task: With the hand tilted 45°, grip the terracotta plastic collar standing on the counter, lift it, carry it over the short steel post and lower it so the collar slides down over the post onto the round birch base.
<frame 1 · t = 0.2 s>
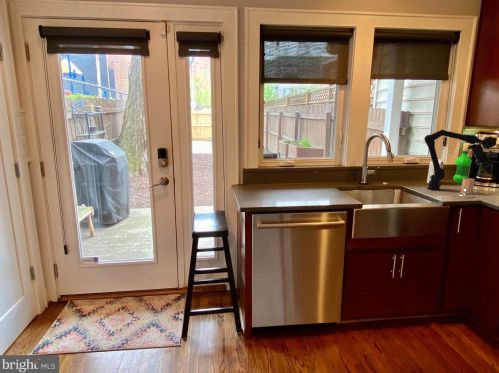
hand: (489, 173, 218), 15 cm above the worktop, tool tilted 30°, fingers open, 9 cm apart
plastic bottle: (459, 183, 257), on the worktop
terracotta collar: (466, 193, 224), on the worktop
milk carton: (433, 183, 253), on the worktop
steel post: (465, 195, 217), on the worktop
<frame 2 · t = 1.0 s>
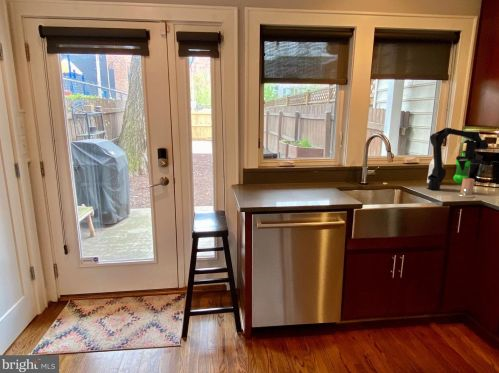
hand: (466, 171, 231), 13 cm above the worktop, tool pointing down, fingers open, 9 cm apart
nothing on the worktop moved.
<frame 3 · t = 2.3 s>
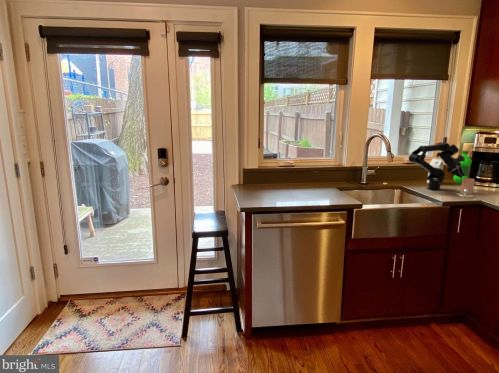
hand: (463, 176, 224), 11 cm above the worktop, tool tilted 45°, fingers open, 9 cm apart
nothing on the worktop moved.
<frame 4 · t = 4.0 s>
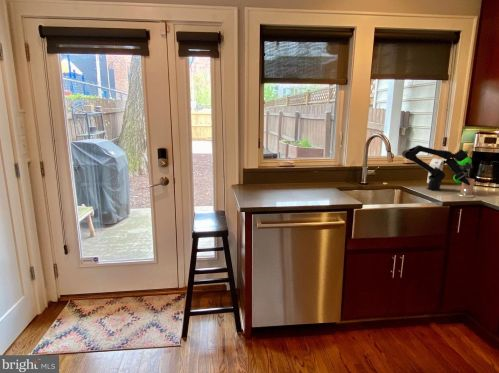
hand: (470, 184, 222), 7 cm above the worktop, tool tilted 45°, fingers closed on terracotta collar, 6 cm apart
terracotta collar: (466, 193, 224), on the worktop, touching gripper
everything else where it was.
when the fingers open (9 cm above the worktop, at t = 8.9 s): terracotta collar drops 2 cm, resting on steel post.
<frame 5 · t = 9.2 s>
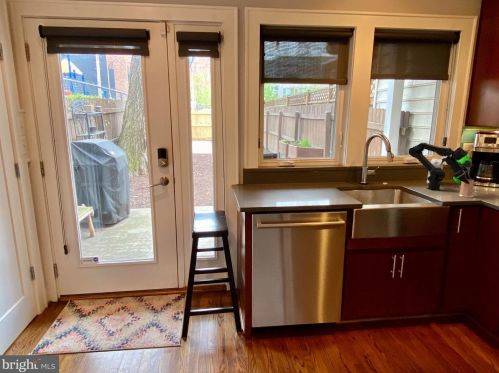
hand: (470, 182, 214), 9 cm above the worktop, tool tilted 45°, fingers open, 9 cm apart
terracotta collar: (465, 194, 217), point 1 cm above the worktop, touching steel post
everything else where it was.
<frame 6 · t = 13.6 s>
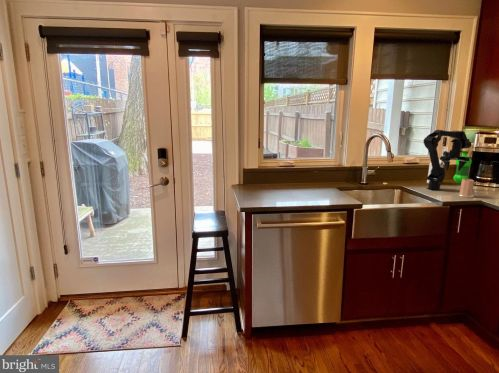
hand: (452, 170, 235), 13 cm above the worktop, tool pointing down, fingers open, 9 cm apart
nothing on the worktop moved.
at the end: terracotta collar 0.0 cm from the target spot, point 0.8 cm above the worktop; terracotta collar tilted 0°; the gripper is holding nothing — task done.
